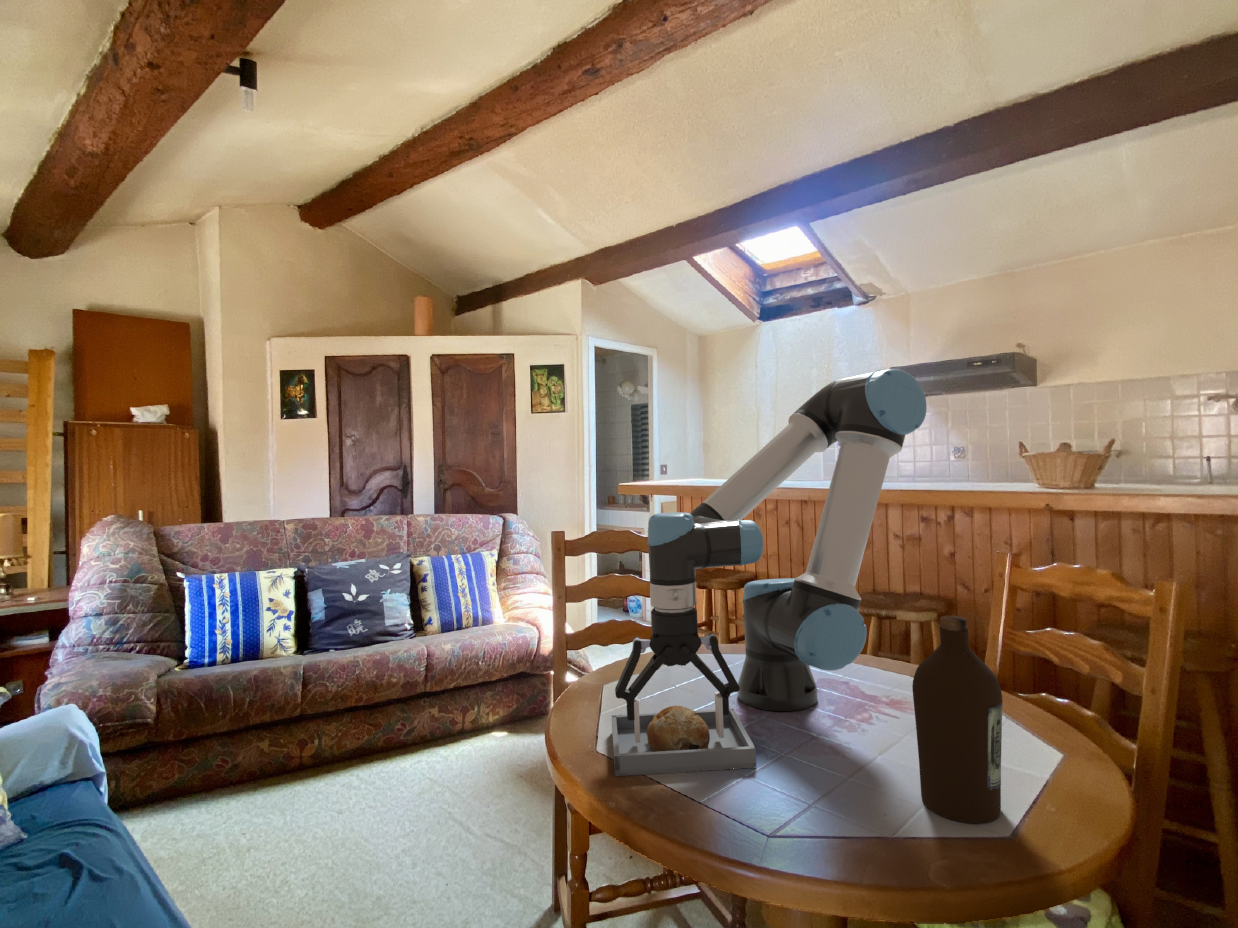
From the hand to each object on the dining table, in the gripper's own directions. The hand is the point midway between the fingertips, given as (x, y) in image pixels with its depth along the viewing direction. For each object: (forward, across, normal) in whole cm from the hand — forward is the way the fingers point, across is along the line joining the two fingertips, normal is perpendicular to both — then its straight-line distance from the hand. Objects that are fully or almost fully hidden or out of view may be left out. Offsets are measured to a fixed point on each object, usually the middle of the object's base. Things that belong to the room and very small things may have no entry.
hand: (678, 736), depth 106 cm
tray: (+2, 0, 0) cm, 2 cm away
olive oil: (+2, +35, -21) cm, 41 cm away
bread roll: (+1, 0, 0) cm, 2 cm away
